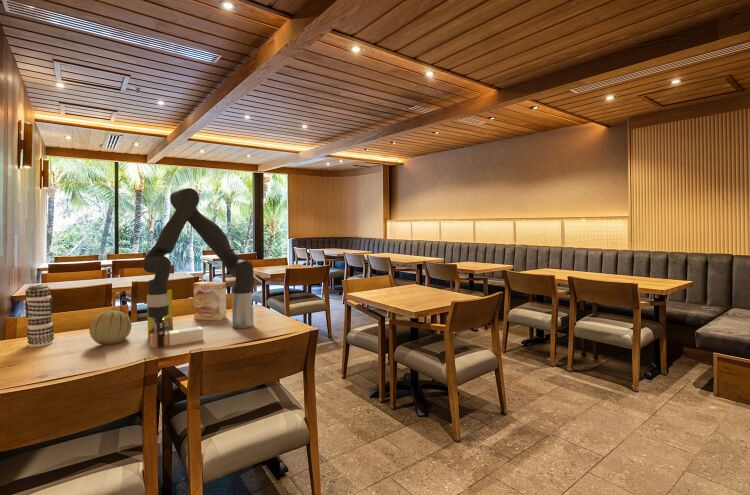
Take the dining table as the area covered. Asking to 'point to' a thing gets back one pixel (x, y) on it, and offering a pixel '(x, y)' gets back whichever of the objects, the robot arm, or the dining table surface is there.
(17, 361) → the dining table surface
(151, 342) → the stub
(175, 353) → the dining table surface
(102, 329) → the cantaloupe
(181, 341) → the white rectangular block
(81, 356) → the dining table surface
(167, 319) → the food package
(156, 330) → the robot arm
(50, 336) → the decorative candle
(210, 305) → the coffeecake box
